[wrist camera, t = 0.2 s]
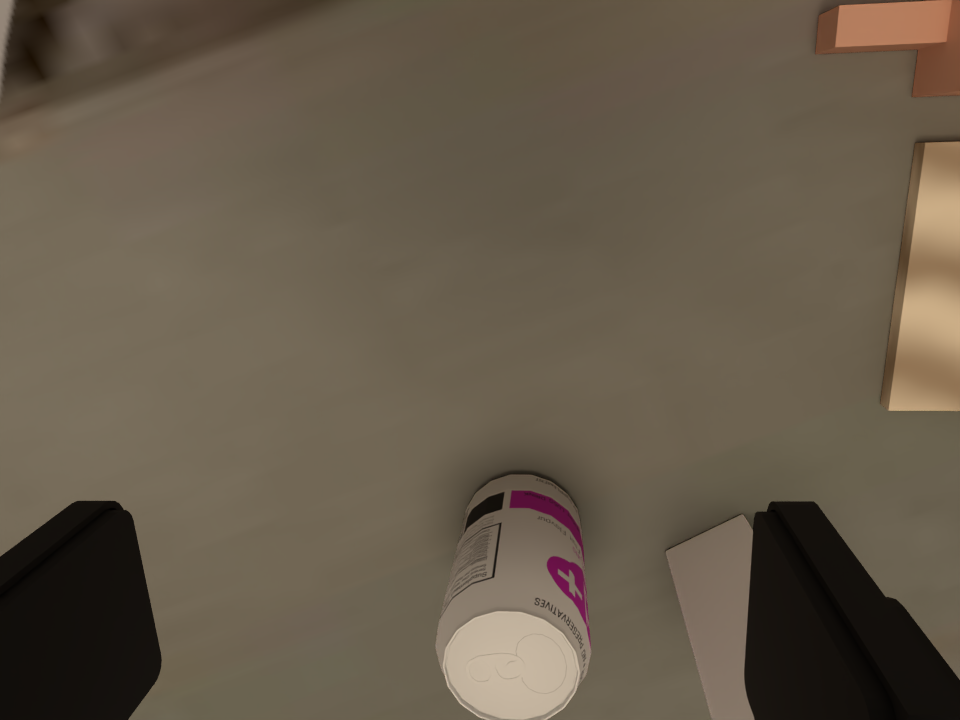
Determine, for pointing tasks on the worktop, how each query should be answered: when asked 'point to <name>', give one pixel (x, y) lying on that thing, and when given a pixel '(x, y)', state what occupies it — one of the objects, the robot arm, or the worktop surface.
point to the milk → (717, 611)
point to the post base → (927, 289)
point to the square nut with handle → (901, 38)
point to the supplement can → (516, 603)
